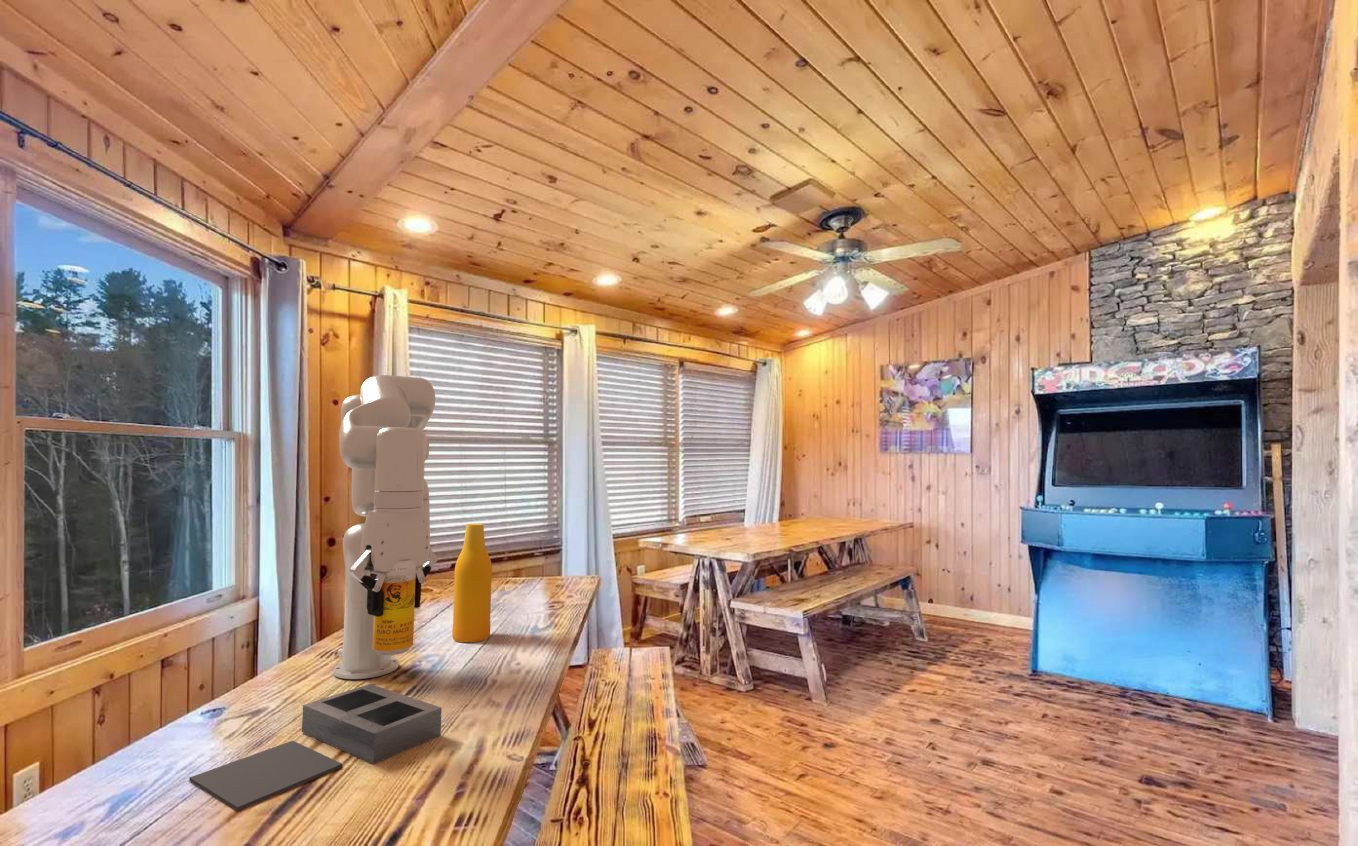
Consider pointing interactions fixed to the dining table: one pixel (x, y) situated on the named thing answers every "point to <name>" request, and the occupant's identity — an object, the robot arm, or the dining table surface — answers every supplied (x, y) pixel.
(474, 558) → the beer bottle
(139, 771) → the dining table surface
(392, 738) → the cinder block
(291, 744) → the mat
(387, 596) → the beer can
